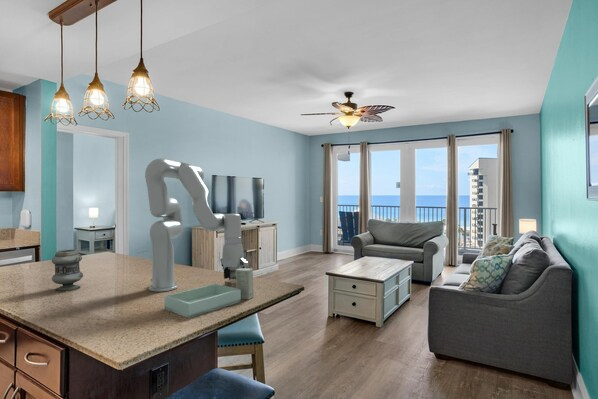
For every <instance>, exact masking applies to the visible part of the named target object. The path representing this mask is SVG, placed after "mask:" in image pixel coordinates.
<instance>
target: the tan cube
mask: <svg viewBox="0 0 598 399" xmlns="http://www.w3.org/2000/svg"><path fill="white" fill-rule="evenodd" d="M224 286H228V287H232V288H236V280H235V279H232V280H229V279H228V280H224Z"/></svg>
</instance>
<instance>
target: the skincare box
mask: <svg viewBox="0 0 598 399" xmlns="http://www.w3.org/2000/svg"><path fill="white" fill-rule="evenodd" d="M253 269H254V268H253V267H250V268H249V267H247V268H239V269H237V270H236V289H240V290H241V299H242V300H251V299H252V298H254V295H255V294H254V293H255V291H254V270H253Z"/></svg>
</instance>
